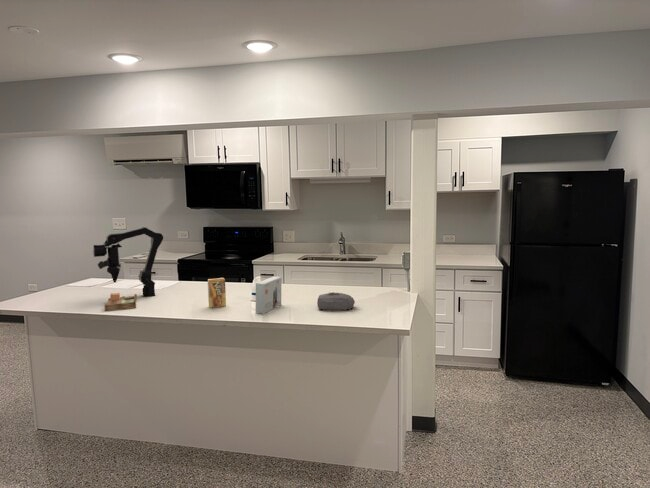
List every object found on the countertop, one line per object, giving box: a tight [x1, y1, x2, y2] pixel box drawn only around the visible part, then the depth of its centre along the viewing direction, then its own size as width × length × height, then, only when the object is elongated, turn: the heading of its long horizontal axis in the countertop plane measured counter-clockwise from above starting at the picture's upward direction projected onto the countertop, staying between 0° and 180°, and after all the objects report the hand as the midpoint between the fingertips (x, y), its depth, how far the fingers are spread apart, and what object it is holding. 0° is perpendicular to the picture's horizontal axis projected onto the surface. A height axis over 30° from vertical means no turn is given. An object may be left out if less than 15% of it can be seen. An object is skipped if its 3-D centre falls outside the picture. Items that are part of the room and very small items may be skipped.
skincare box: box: [255, 275, 283, 315], centre depth 240 cm, size 21×5×16 cm, turn 160°
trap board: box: [104, 293, 138, 312], centre depth 255 cm, size 15×23×3 cm, turn 21°
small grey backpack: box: [316, 292, 356, 311], centre depth 240 cm, size 15×8×20 cm
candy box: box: [207, 277, 227, 309], centre depth 247 cm, size 9×4×15 cm, turn 116°
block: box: [109, 292, 121, 301], centre depth 260 cm, size 5×5×3 cm
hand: (115, 281), depth 266 cm, fingers open, 5 cm apart
